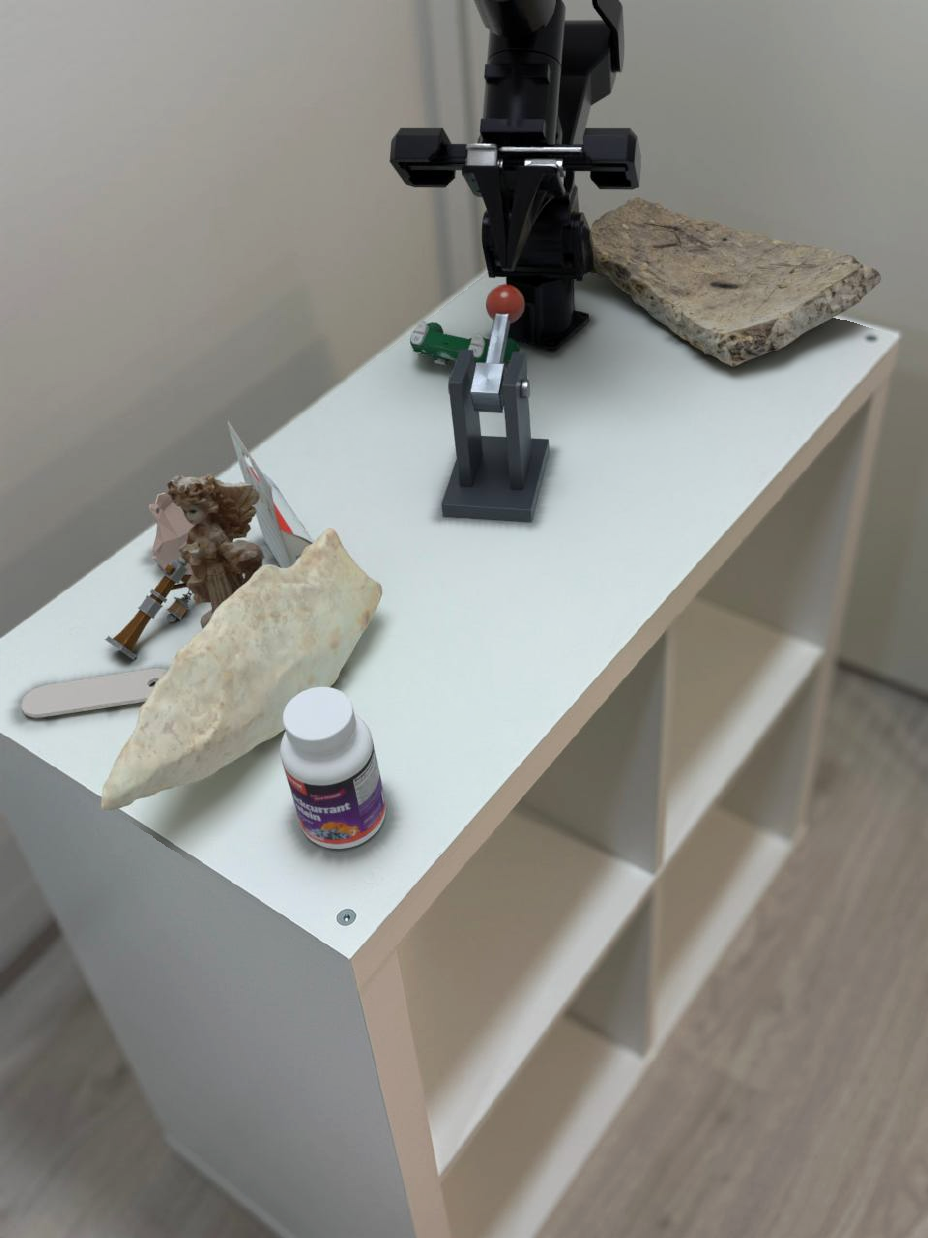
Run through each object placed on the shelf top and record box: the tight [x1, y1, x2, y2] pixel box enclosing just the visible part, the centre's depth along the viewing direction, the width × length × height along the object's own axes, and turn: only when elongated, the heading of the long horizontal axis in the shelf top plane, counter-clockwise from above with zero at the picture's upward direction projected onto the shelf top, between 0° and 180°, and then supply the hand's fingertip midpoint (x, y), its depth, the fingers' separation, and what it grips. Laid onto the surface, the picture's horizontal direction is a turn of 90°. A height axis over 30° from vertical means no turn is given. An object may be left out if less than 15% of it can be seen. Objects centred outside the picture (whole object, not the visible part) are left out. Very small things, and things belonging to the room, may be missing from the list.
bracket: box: [440, 350, 551, 523], centre depth 96 cm, size 9×7×11 cm
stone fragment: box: [589, 196, 882, 367], centre depth 115 cm, size 28×6×20 cm
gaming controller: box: [409, 319, 521, 366], centre depth 111 cm, size 9×4×6 cm
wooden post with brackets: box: [104, 557, 194, 661], centre depth 90 cm, size 2×8×4 cm, turn 139°
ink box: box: [226, 420, 315, 568], centre depth 90 cm, size 3×9×12 cm, turn 26°
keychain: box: [20, 668, 168, 719], centre depth 86 cm, size 10×1×3 cm
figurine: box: [166, 472, 266, 629], centre depth 83 cm, size 7×6×15 cm
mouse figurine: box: [148, 492, 195, 576], centre depth 93 cm, size 5×8×7 cm, turn 58°
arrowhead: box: [100, 527, 383, 811], centre depth 79 cm, size 10×6×25 cm
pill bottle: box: [279, 687, 387, 850], centre depth 74 cm, size 5×5×10 cm
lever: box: [470, 283, 525, 414], centre depth 95 cm, size 11×3×3 cm, turn 168°
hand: (507, 269), depth 96 cm, fingers closed
